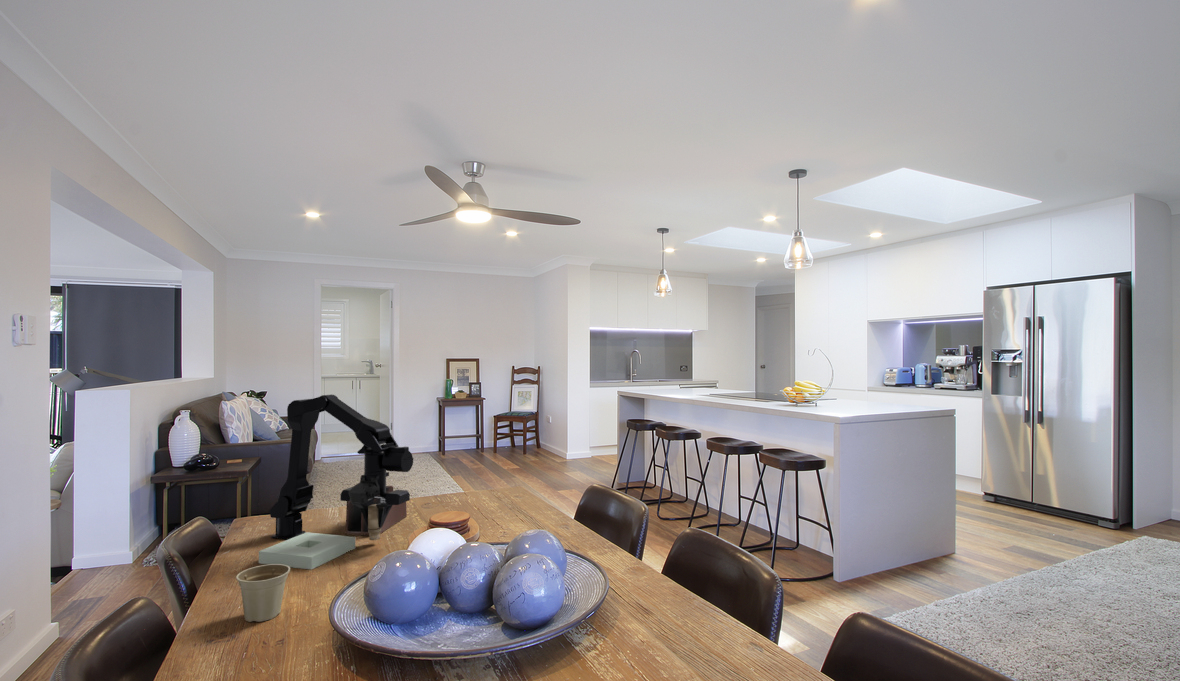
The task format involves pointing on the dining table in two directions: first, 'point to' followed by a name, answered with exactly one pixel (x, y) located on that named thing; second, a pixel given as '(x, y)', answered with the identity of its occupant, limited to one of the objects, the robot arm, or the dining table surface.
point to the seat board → (307, 550)
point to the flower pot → (262, 591)
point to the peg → (373, 523)
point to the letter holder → (357, 521)
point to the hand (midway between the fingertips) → (374, 526)
